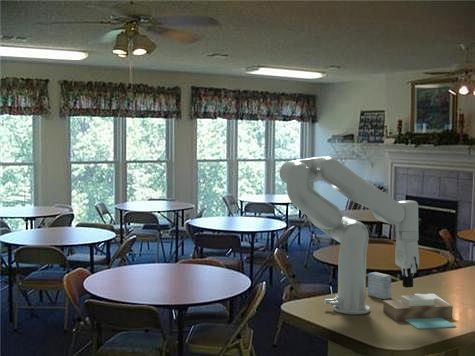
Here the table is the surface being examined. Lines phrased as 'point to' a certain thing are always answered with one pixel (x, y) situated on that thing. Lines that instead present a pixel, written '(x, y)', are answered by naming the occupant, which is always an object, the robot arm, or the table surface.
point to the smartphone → (433, 297)
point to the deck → (417, 310)
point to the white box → (417, 300)
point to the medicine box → (379, 285)
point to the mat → (430, 323)
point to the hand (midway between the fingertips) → (407, 286)
